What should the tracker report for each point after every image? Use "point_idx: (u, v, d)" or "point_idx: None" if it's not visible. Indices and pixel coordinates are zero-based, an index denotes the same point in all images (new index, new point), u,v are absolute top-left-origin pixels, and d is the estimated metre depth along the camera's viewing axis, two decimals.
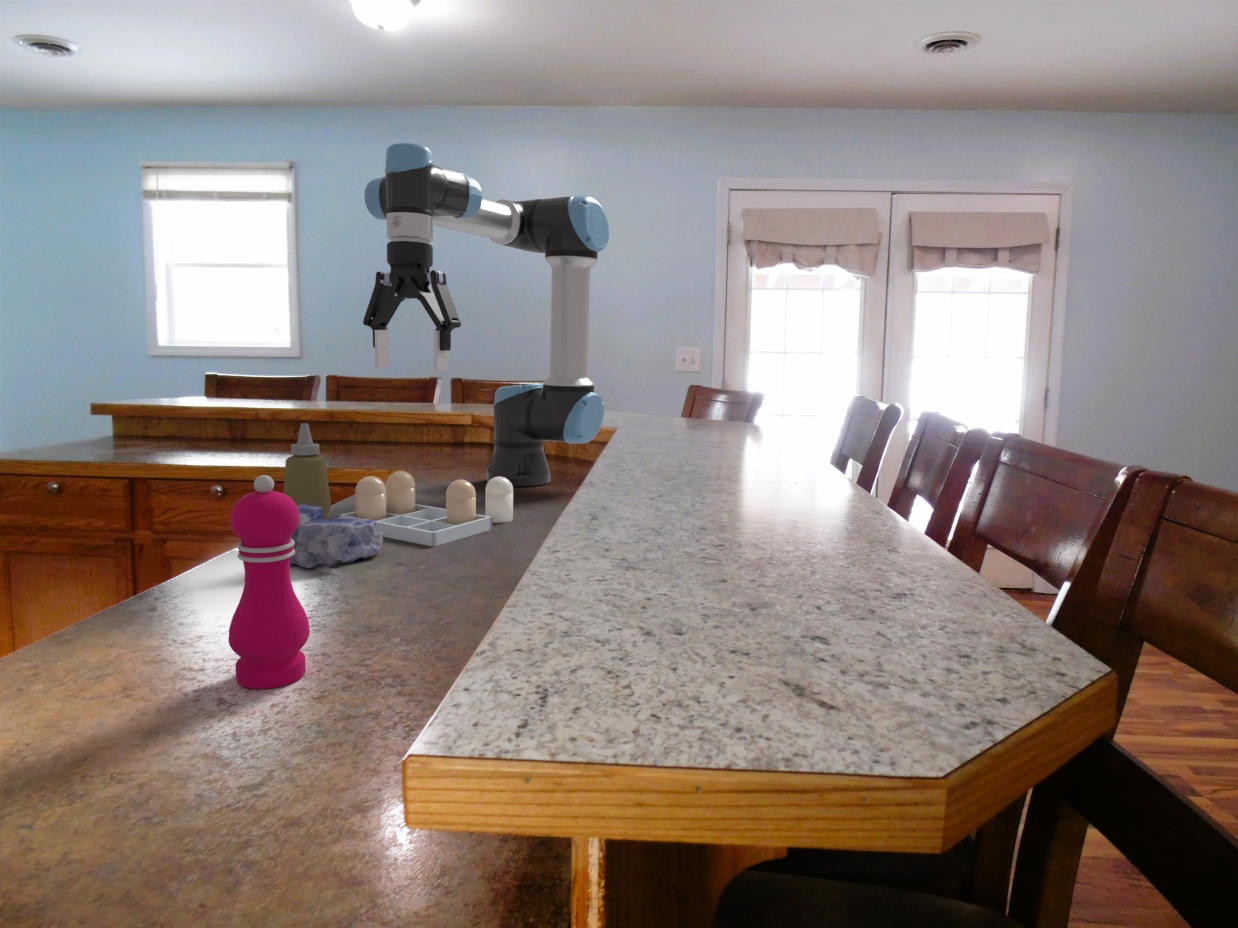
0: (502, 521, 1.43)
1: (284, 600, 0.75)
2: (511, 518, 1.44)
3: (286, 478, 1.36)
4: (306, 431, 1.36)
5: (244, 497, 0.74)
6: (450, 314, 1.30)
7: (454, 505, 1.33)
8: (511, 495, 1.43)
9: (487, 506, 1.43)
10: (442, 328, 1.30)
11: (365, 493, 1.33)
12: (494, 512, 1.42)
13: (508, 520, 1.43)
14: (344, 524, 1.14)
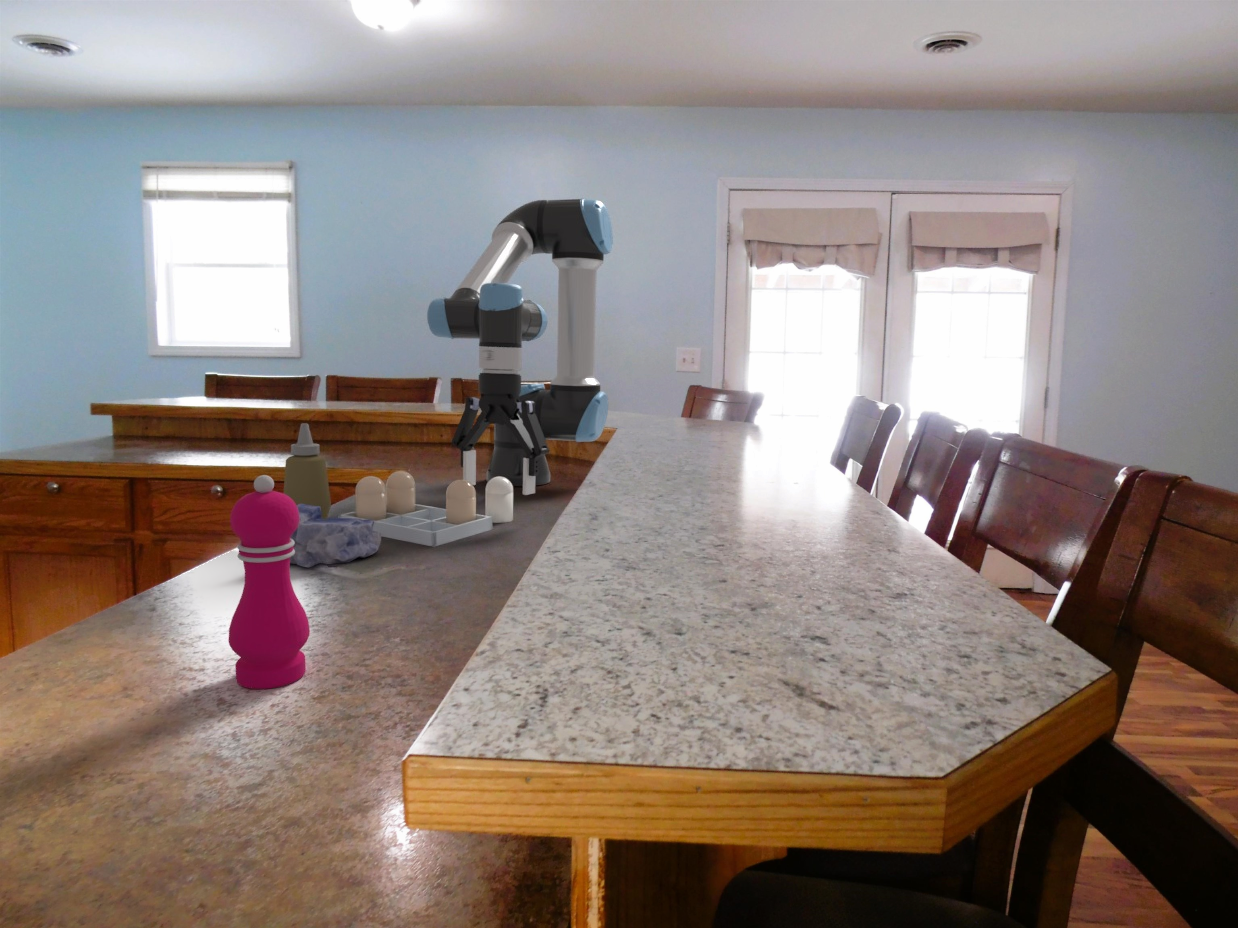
0: (502, 521, 1.43)
1: (284, 600, 0.75)
2: (511, 518, 1.44)
3: (286, 478, 1.36)
4: (306, 431, 1.36)
5: (244, 497, 0.74)
6: (540, 443, 1.37)
7: (454, 505, 1.33)
8: (511, 495, 1.43)
9: (487, 506, 1.43)
10: (532, 456, 1.38)
11: (365, 493, 1.33)
12: (494, 512, 1.42)
13: (508, 520, 1.43)
14: (343, 523, 1.14)
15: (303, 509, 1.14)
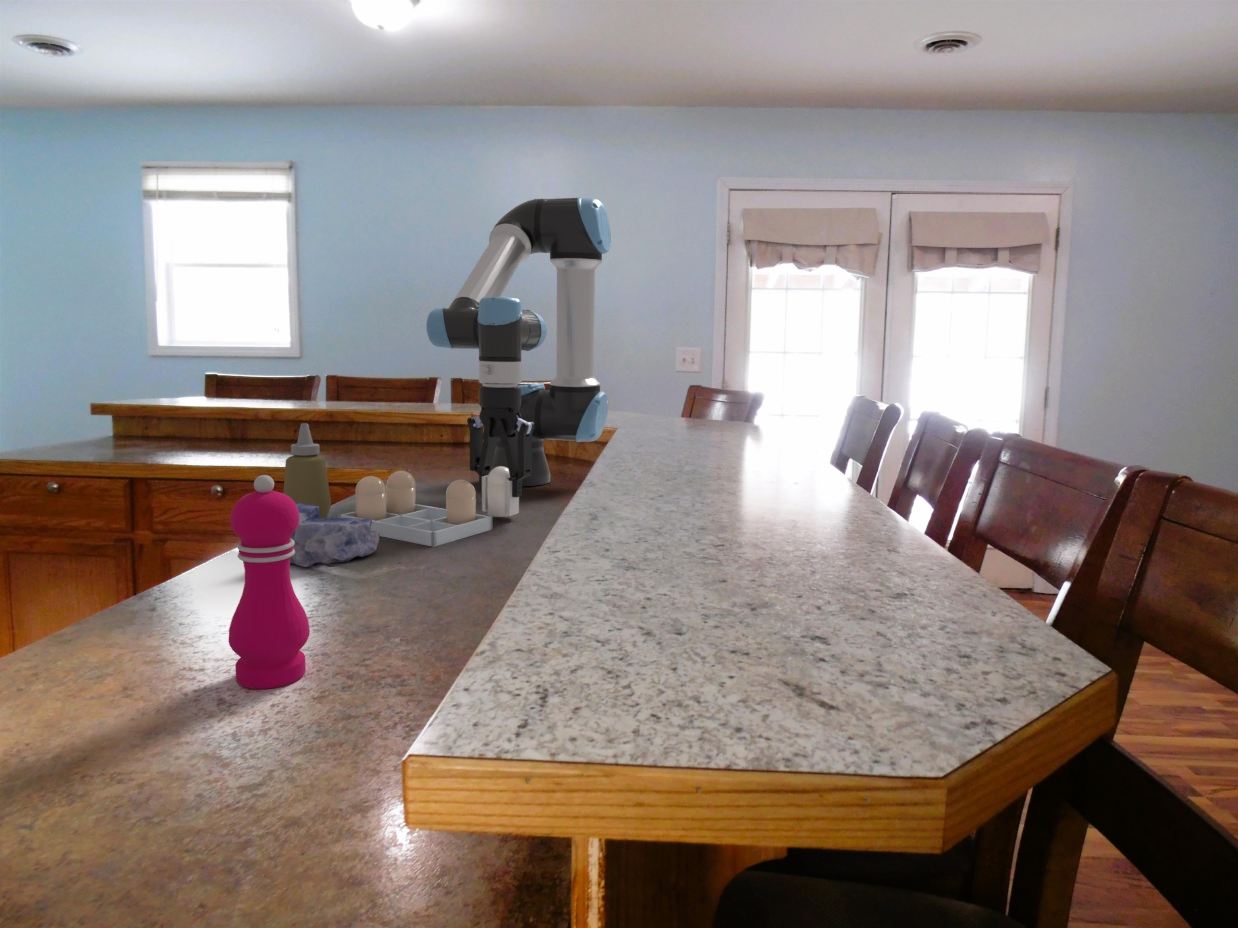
0: (504, 511, 1.43)
1: (284, 600, 0.75)
2: None
3: (286, 478, 1.36)
4: (306, 431, 1.36)
5: (244, 497, 0.74)
6: (525, 466, 1.40)
7: (454, 505, 1.33)
8: None
9: (489, 496, 1.43)
10: (514, 479, 1.41)
11: (365, 493, 1.33)
12: (496, 502, 1.43)
13: None
14: (341, 523, 1.15)
15: (301, 509, 1.14)
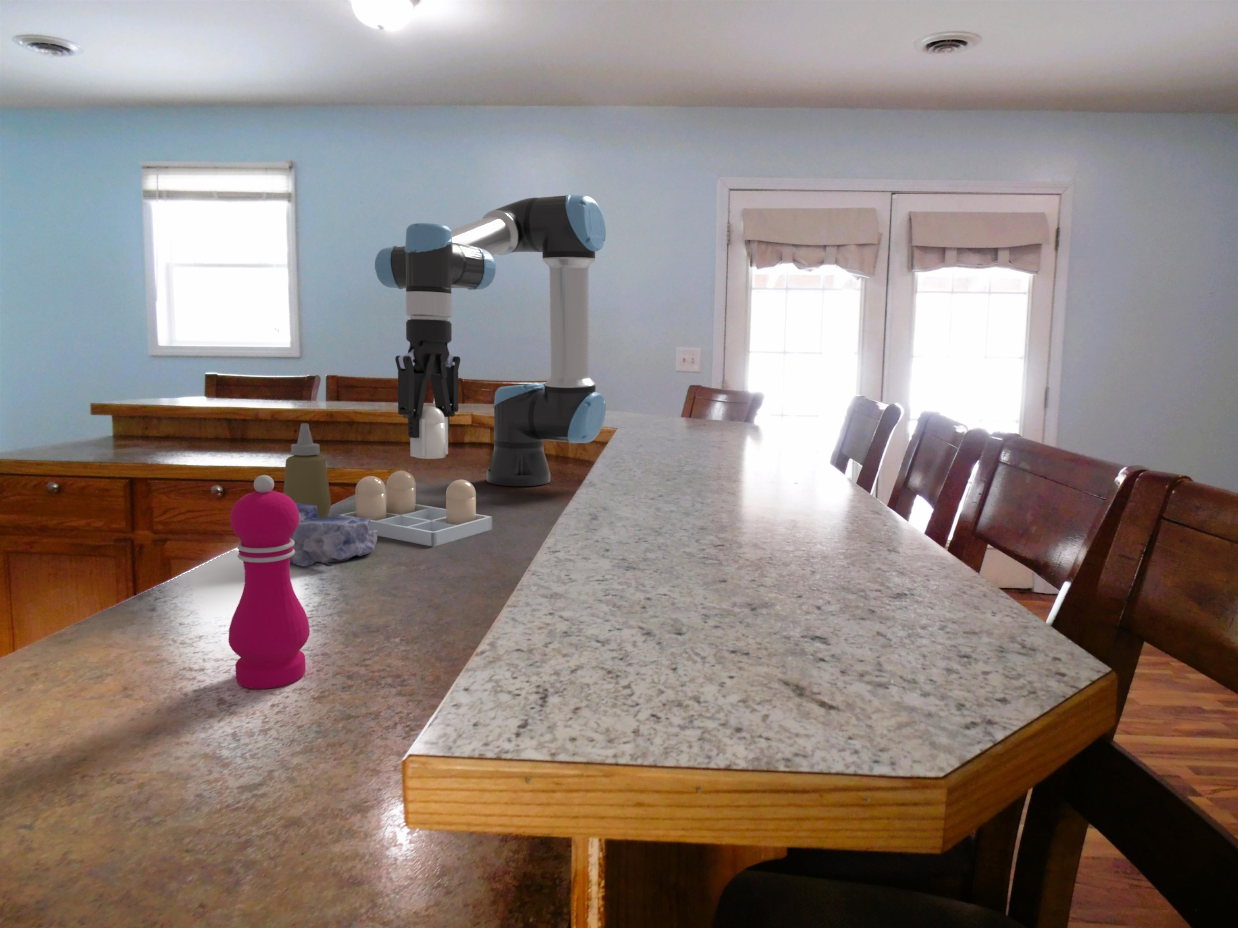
0: None
1: (284, 600, 0.75)
2: None
3: (286, 478, 1.36)
4: (306, 431, 1.36)
5: (244, 497, 0.74)
6: (400, 403, 1.31)
7: (454, 505, 1.33)
8: None
9: None
10: (406, 417, 1.33)
11: (365, 493, 1.33)
12: None
13: None
14: (339, 522, 1.15)
15: (299, 508, 1.14)
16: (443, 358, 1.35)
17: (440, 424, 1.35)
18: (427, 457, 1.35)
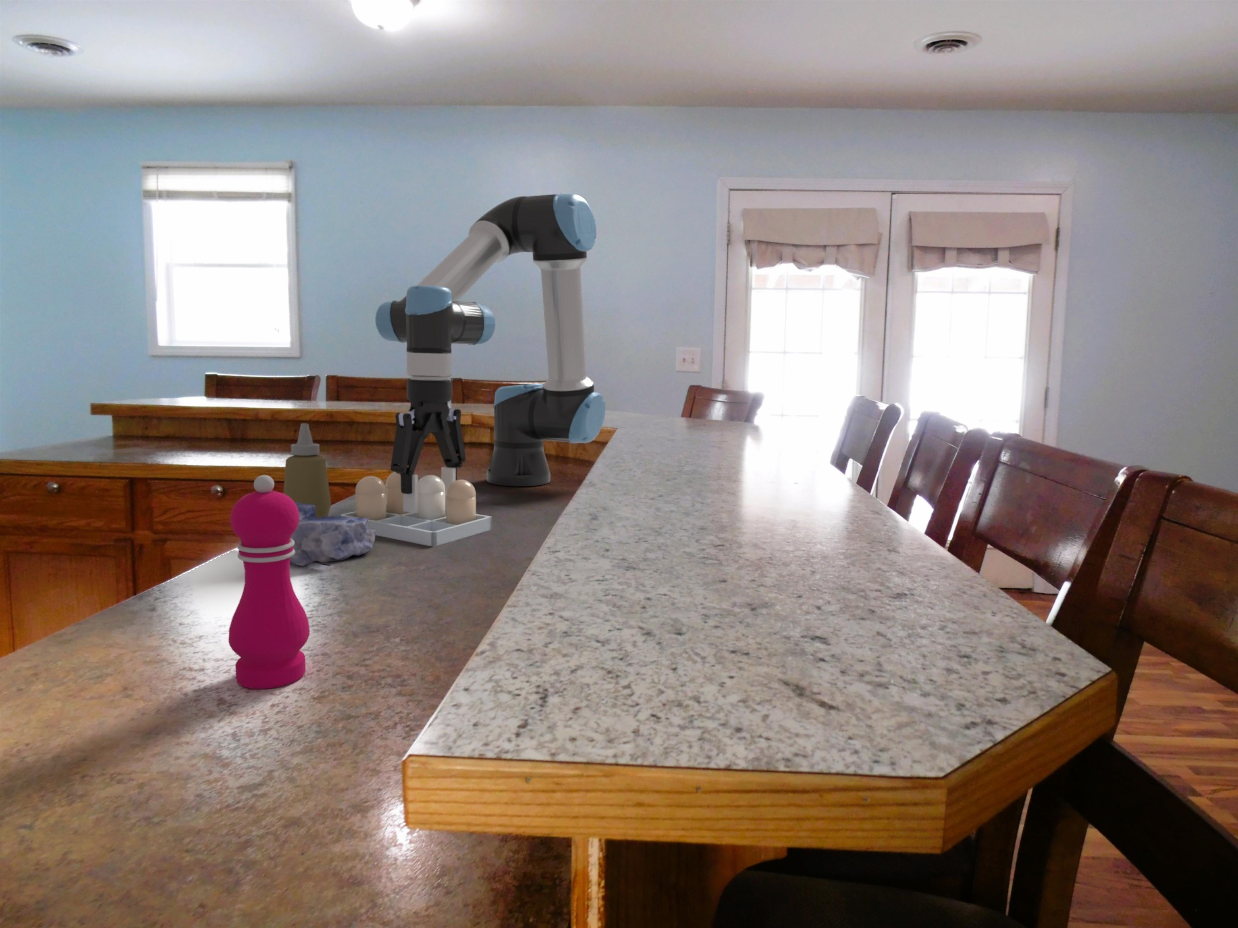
0: None
1: (284, 600, 0.75)
2: None
3: (286, 478, 1.36)
4: (306, 431, 1.36)
5: (244, 497, 0.74)
6: (394, 459, 1.31)
7: (454, 505, 1.33)
8: (422, 495, 1.36)
9: None
10: (399, 472, 1.33)
11: (365, 493, 1.33)
12: None
13: None
14: (337, 522, 1.15)
15: None
16: (443, 416, 1.37)
17: (440, 493, 1.37)
18: None
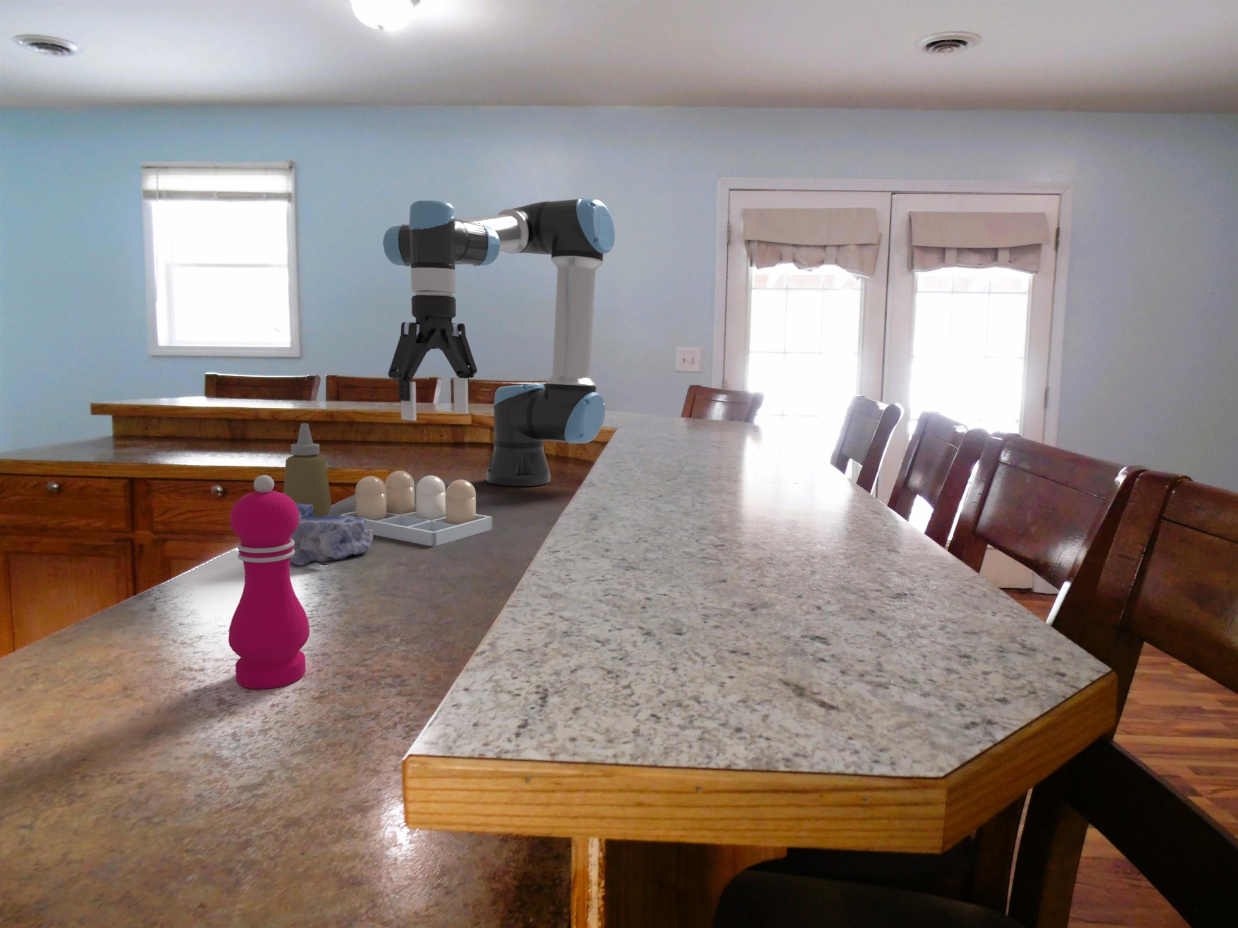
0: None
1: (284, 600, 0.75)
2: None
3: (286, 478, 1.36)
4: (306, 431, 1.36)
5: (244, 497, 0.74)
6: (393, 365, 1.31)
7: (454, 505, 1.33)
8: (422, 496, 1.36)
9: None
10: (396, 379, 1.33)
11: (365, 493, 1.33)
12: None
13: None
14: (335, 521, 1.16)
15: None
16: (448, 332, 1.39)
17: (441, 494, 1.37)
18: None
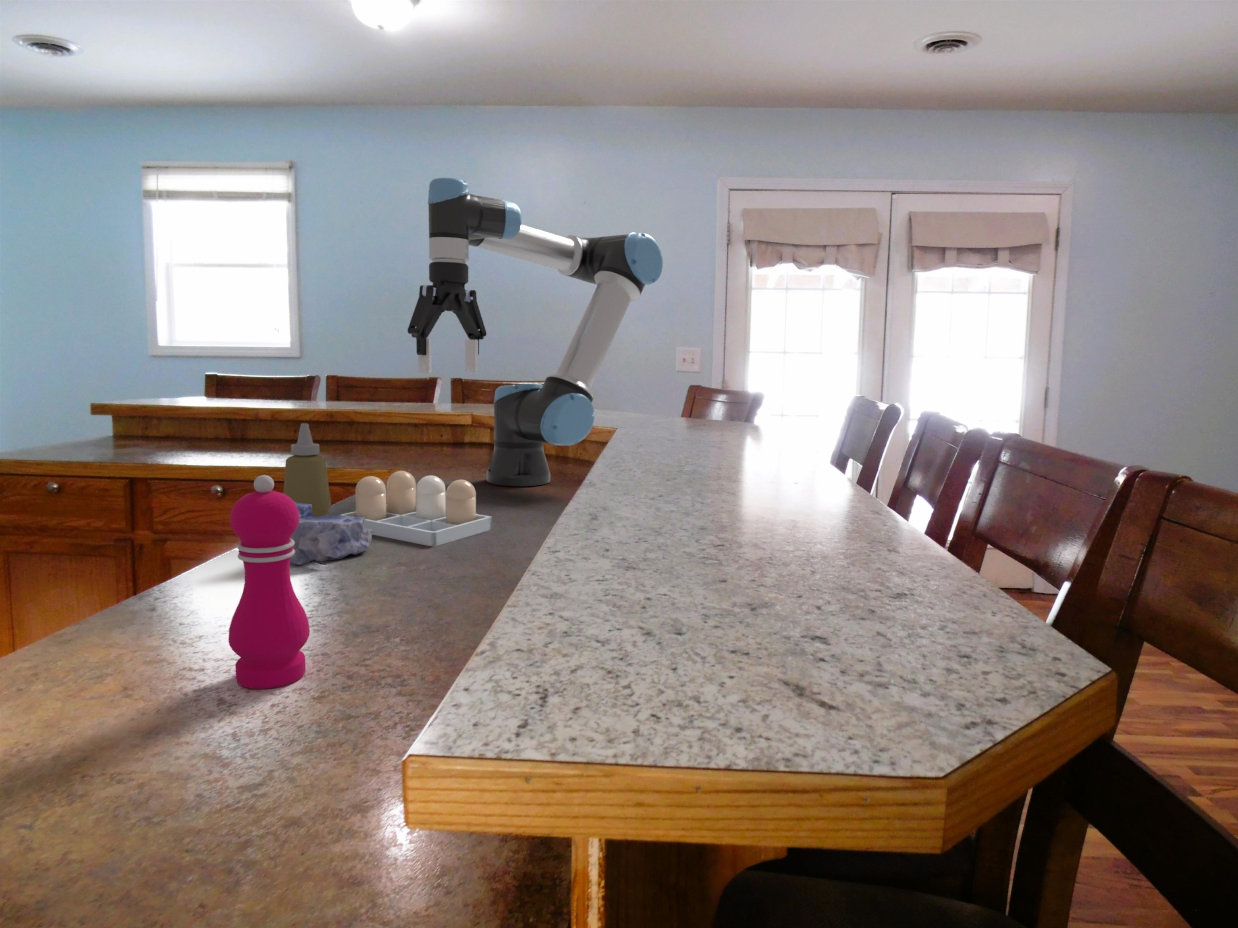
0: None
1: (284, 600, 0.75)
2: None
3: (286, 478, 1.36)
4: (306, 431, 1.36)
5: (244, 497, 0.74)
6: (412, 322, 1.48)
7: (454, 505, 1.33)
8: (422, 496, 1.36)
9: None
10: (414, 335, 1.49)
11: (365, 493, 1.33)
12: None
13: None
14: (334, 521, 1.16)
15: None
16: (461, 296, 1.55)
17: (441, 494, 1.37)
18: None
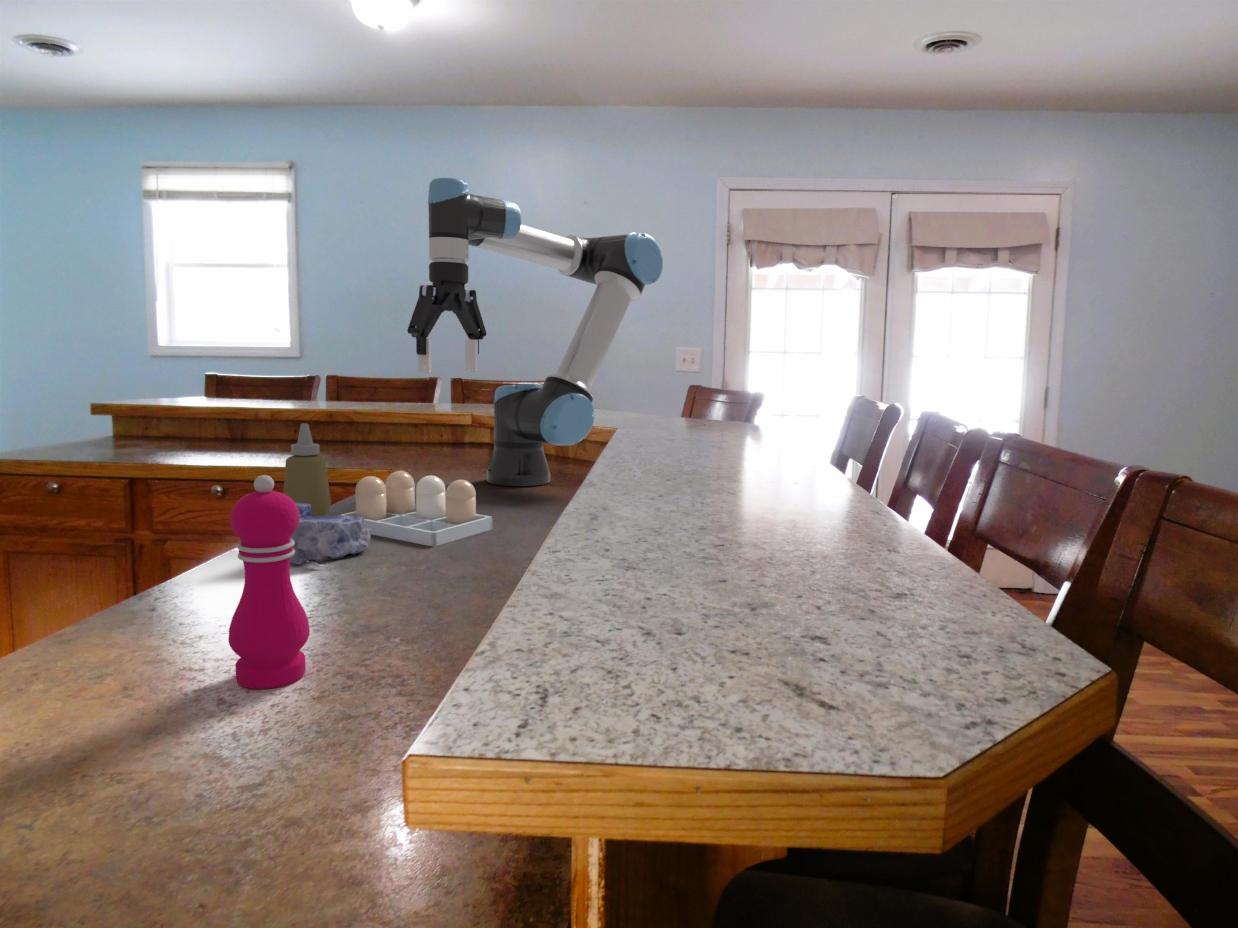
0: None
1: (284, 600, 0.75)
2: None
3: (286, 478, 1.36)
4: (306, 431, 1.36)
5: (244, 497, 0.74)
6: (412, 322, 1.48)
7: (454, 505, 1.33)
8: (422, 496, 1.36)
9: None
10: (414, 335, 1.49)
11: (365, 493, 1.33)
12: None
13: None
14: (333, 521, 1.16)
15: None
16: (461, 296, 1.55)
17: (441, 494, 1.37)
18: None
